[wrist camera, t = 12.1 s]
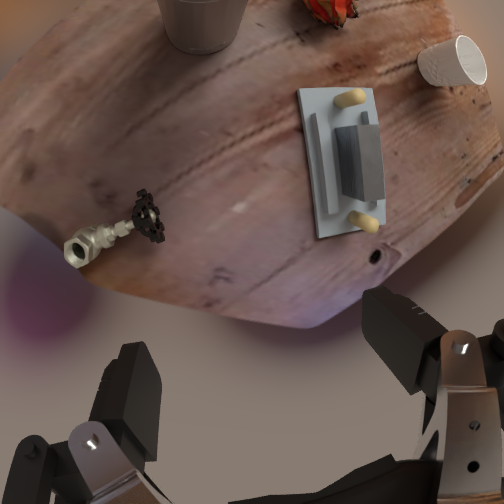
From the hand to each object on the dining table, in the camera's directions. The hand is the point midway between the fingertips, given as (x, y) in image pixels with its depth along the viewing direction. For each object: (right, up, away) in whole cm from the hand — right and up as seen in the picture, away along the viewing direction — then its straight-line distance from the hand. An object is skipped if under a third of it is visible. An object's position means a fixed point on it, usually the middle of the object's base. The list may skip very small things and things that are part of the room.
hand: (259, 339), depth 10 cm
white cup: (+29, +34, +24) cm, 51 cm away
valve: (-18, +6, +25) cm, 31 cm away
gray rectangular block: (+13, +15, +26) cm, 33 cm away
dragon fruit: (+9, +38, +19) cm, 43 cm away
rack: (+12, +16, +27) cm, 33 cm away
